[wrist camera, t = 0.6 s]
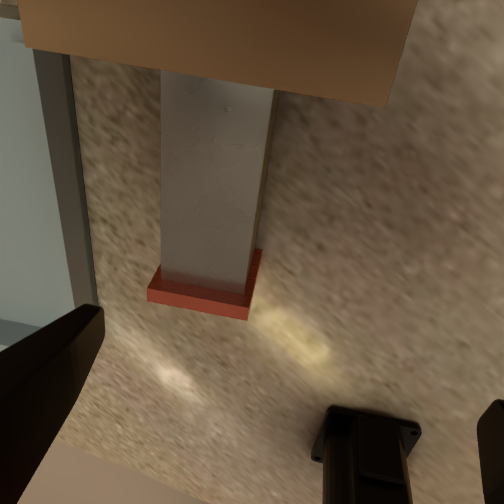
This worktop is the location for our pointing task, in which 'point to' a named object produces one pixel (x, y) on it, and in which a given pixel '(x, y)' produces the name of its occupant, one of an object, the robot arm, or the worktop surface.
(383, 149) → the worktop surface
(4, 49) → the tray
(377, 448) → the robot arm
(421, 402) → the worktop surface
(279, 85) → the block
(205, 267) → the red capped grey bar
